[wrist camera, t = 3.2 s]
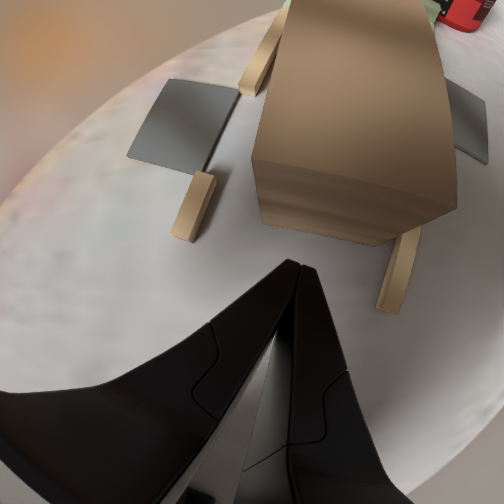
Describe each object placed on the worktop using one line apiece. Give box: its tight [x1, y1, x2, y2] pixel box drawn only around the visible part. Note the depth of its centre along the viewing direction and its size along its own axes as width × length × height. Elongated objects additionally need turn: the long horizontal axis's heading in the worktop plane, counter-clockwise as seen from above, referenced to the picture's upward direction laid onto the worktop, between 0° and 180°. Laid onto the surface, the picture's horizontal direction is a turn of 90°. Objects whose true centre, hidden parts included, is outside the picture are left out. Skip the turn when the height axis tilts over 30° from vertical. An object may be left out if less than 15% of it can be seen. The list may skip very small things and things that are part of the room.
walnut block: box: [251, 0, 457, 247], centre depth 12 cm, size 14×6×8 cm, turn 168°
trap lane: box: [126, 0, 488, 314], centre depth 14 cm, size 25×22×3 cm
